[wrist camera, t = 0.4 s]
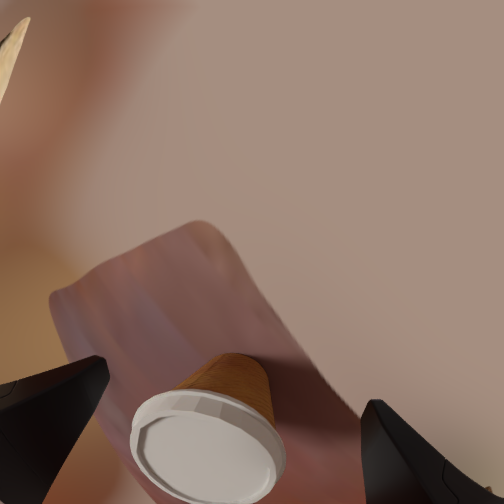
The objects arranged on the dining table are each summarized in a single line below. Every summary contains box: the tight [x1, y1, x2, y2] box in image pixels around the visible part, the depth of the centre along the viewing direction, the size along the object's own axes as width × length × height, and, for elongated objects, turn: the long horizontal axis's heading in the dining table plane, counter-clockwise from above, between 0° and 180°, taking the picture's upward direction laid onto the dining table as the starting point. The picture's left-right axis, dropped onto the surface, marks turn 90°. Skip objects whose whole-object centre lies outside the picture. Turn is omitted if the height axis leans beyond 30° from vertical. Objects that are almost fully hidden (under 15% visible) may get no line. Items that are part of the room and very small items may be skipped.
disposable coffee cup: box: [130, 353, 286, 504], centre depth 17 cm, size 10×10×12 cm
